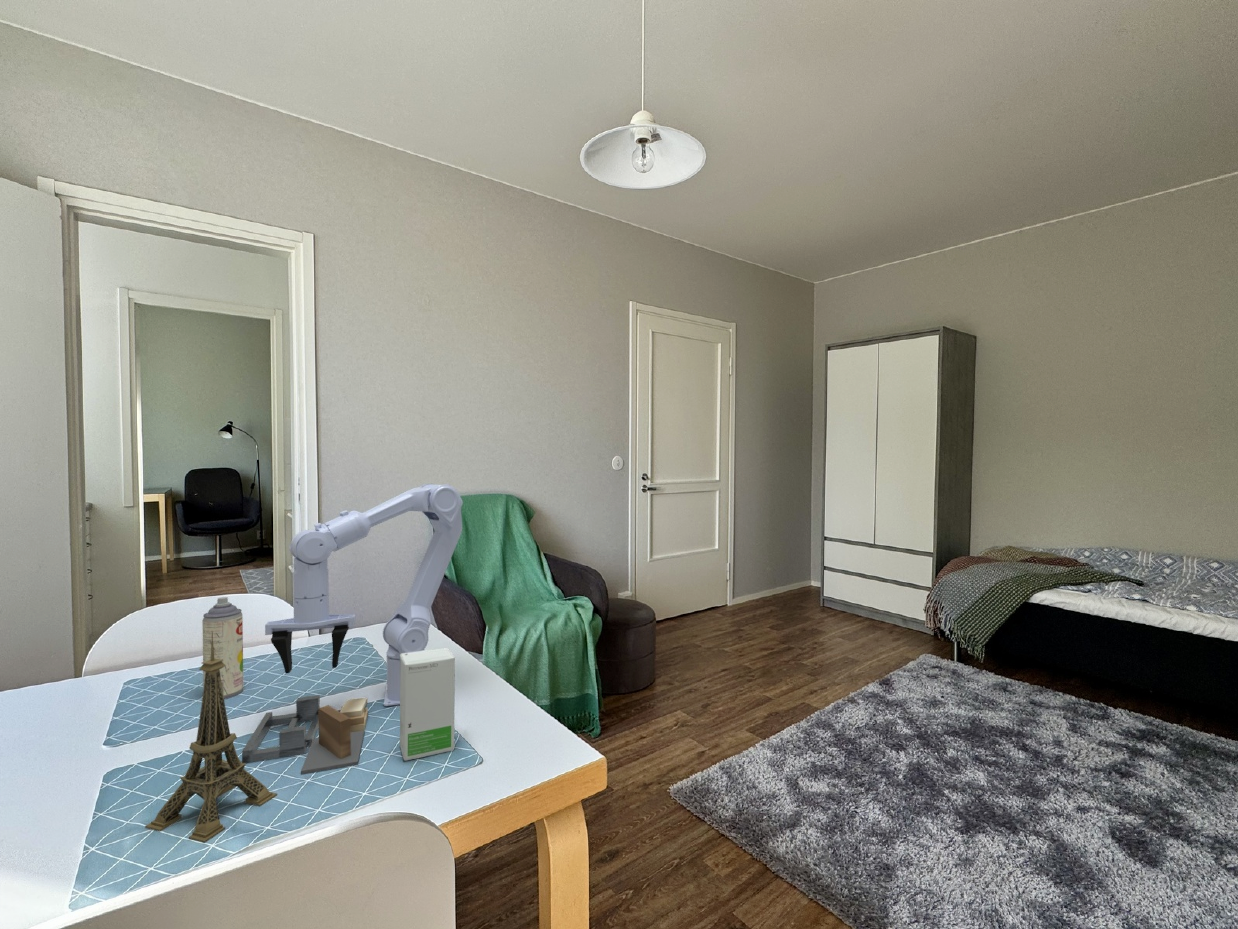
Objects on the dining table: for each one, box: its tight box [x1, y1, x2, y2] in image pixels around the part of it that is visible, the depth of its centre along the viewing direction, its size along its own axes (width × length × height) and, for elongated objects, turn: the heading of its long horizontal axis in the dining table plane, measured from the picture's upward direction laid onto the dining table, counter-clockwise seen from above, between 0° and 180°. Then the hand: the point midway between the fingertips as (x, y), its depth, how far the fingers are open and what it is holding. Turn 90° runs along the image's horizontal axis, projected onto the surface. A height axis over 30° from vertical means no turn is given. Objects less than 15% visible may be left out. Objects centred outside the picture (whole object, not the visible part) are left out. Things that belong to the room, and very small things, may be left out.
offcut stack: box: [339, 697, 369, 732], centre depth 103 cm, size 4×7×3 cm, turn 19°
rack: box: [241, 694, 321, 764], centre depth 98 cm, size 9×15×4 cm, turn 19°
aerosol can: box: [201, 596, 244, 700], centre depth 117 cm, size 7×7×20 cm
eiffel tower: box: [144, 631, 278, 843], centre depth 78 cm, size 11×11×25 cm
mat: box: [300, 730, 366, 775], centre depth 93 cm, size 8×11×1 cm
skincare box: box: [399, 647, 456, 762], centre depth 94 cm, size 8×7×16 cm
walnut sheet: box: [318, 704, 351, 759], centre depth 93 cm, size 2×8×6 cm, turn 51°
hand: (312, 668), depth 104 cm, fingers open, 7 cm apart
